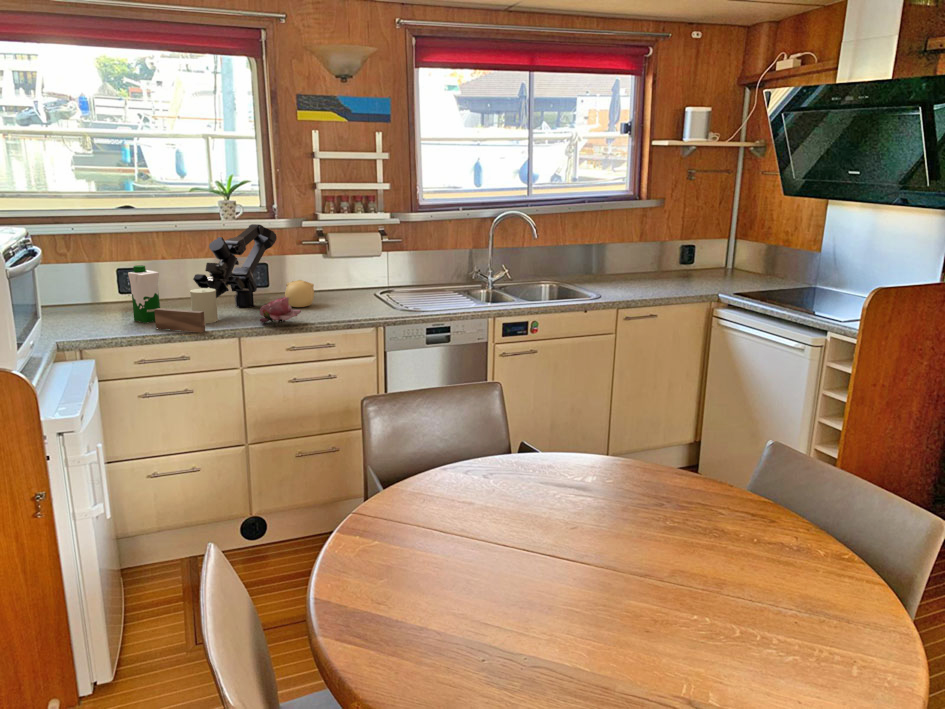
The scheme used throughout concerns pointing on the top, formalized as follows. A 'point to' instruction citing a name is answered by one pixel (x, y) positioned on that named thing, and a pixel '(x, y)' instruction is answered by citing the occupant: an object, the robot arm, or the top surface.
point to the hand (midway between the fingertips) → (211, 300)
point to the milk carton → (144, 293)
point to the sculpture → (299, 293)
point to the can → (205, 303)
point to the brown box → (180, 320)
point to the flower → (277, 311)
